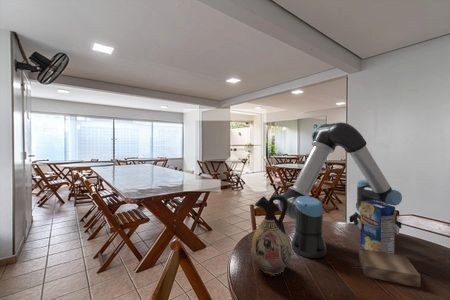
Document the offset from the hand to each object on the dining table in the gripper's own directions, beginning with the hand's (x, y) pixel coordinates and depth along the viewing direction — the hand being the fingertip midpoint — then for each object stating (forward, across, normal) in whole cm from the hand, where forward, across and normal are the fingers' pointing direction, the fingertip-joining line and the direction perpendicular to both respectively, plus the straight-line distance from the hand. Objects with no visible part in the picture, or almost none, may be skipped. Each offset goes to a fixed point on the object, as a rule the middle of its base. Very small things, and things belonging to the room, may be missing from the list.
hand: (378, 228), depth 93 cm
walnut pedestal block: (+12, 0, -12) cm, 17 cm away
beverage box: (-3, 0, -12) cm, 13 cm away
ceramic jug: (+28, +40, -12) cm, 50 cm away
